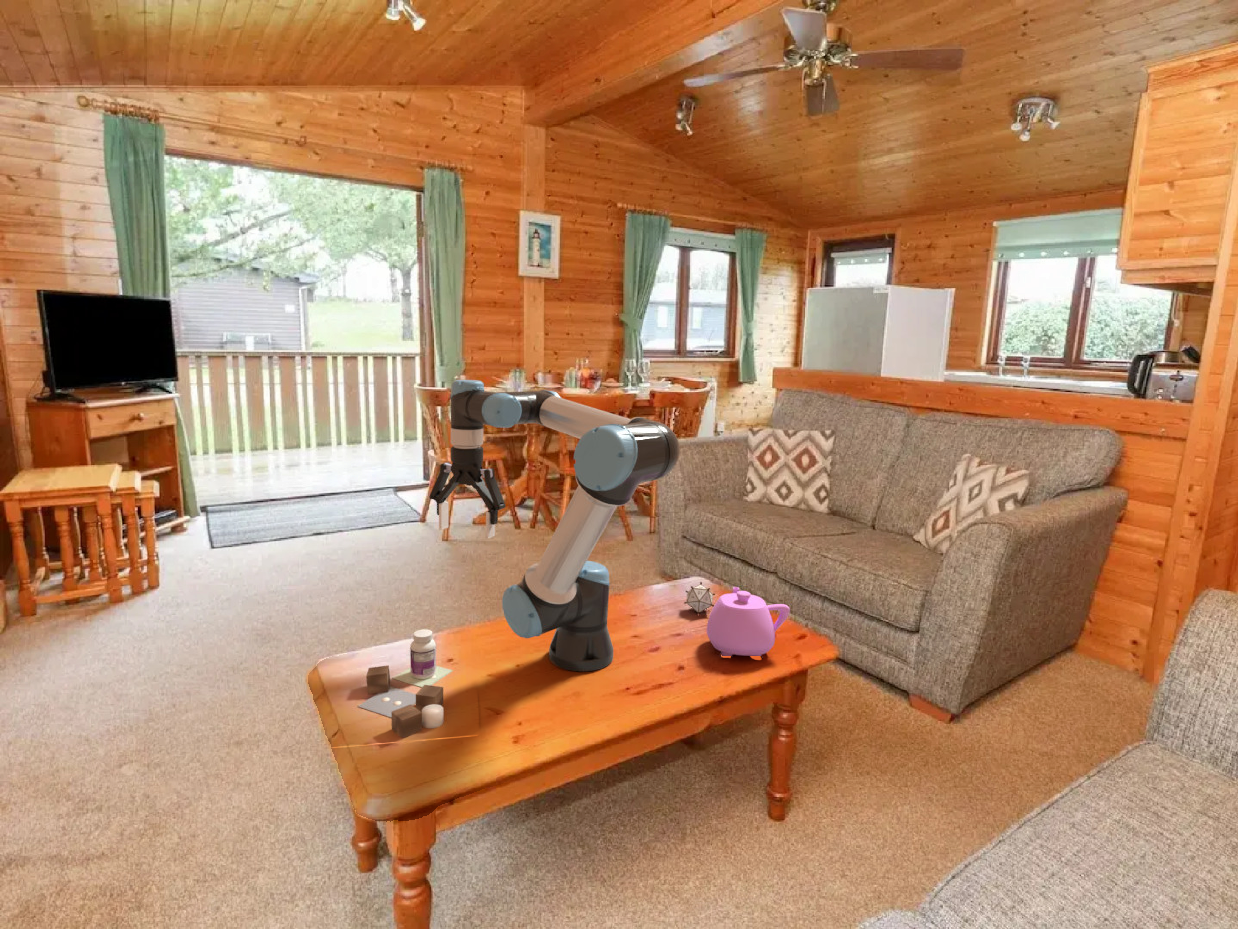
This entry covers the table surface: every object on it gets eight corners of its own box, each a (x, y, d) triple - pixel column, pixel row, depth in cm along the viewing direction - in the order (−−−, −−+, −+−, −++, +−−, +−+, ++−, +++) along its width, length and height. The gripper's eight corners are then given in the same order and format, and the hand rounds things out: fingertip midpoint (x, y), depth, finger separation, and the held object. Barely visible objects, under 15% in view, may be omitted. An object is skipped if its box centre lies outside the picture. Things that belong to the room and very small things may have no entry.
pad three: (452, 672, 153) (452, 670, 153) (425, 689, 145) (425, 688, 145) (420, 662, 157) (420, 661, 156) (392, 679, 148) (392, 678, 148)
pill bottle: (413, 668, 153) (413, 627, 151) (438, 668, 153) (437, 627, 152) (407, 680, 148) (407, 637, 146) (433, 680, 148) (432, 638, 146)
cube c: (390, 683, 146) (388, 665, 146) (388, 691, 142) (386, 673, 142) (370, 685, 145) (368, 668, 145) (368, 694, 142) (366, 676, 141)
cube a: (443, 705, 139) (443, 687, 139) (434, 715, 135) (434, 697, 135) (424, 703, 140) (424, 684, 139) (415, 713, 136) (415, 694, 135)
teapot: (776, 632, 182) (780, 578, 179) (792, 668, 162) (798, 607, 160) (701, 628, 182) (705, 574, 180) (708, 663, 163) (713, 603, 160)
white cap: (447, 721, 134) (447, 707, 133) (434, 732, 130) (434, 717, 129) (431, 716, 135) (431, 702, 135) (417, 726, 132) (417, 712, 131)
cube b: (411, 723, 133) (422, 732, 130) (391, 731, 130) (402, 740, 127) (410, 704, 132) (421, 712, 129) (391, 711, 129) (402, 720, 126)
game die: (693, 626, 193) (675, 601, 189) (695, 605, 200) (678, 581, 196) (721, 616, 189) (704, 591, 186) (723, 595, 196) (706, 570, 193)
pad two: (424, 698, 141) (424, 696, 141) (393, 719, 133) (393, 717, 133) (389, 688, 145) (389, 686, 145) (357, 707, 137) (357, 706, 137)
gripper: (520, 449, 161) (519, 536, 165) (434, 438, 171) (434, 521, 175) (503, 453, 154) (501, 544, 158) (414, 442, 164) (415, 528, 168)
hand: (466, 532), depth 166 cm, fingers open, 13 cm apart
